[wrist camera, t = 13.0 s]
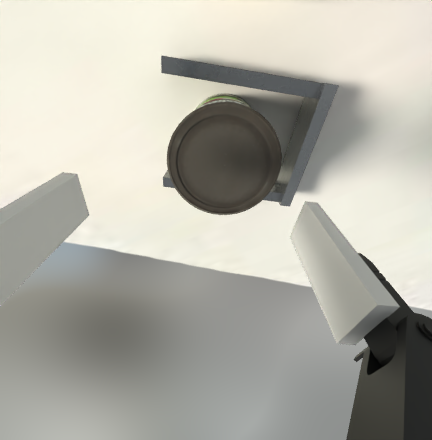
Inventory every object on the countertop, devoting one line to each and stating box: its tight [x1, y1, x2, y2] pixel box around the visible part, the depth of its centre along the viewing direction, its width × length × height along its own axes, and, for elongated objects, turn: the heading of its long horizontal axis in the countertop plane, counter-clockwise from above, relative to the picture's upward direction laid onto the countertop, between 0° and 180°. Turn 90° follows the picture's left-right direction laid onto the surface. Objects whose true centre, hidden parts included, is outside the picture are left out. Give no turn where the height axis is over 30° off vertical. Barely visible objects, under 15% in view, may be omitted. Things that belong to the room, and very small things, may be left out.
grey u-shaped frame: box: [161, 56, 339, 206], centre depth 28 cm, size 16×20×5 cm
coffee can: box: [167, 94, 282, 215], centre depth 24 cm, size 10×10×14 cm
